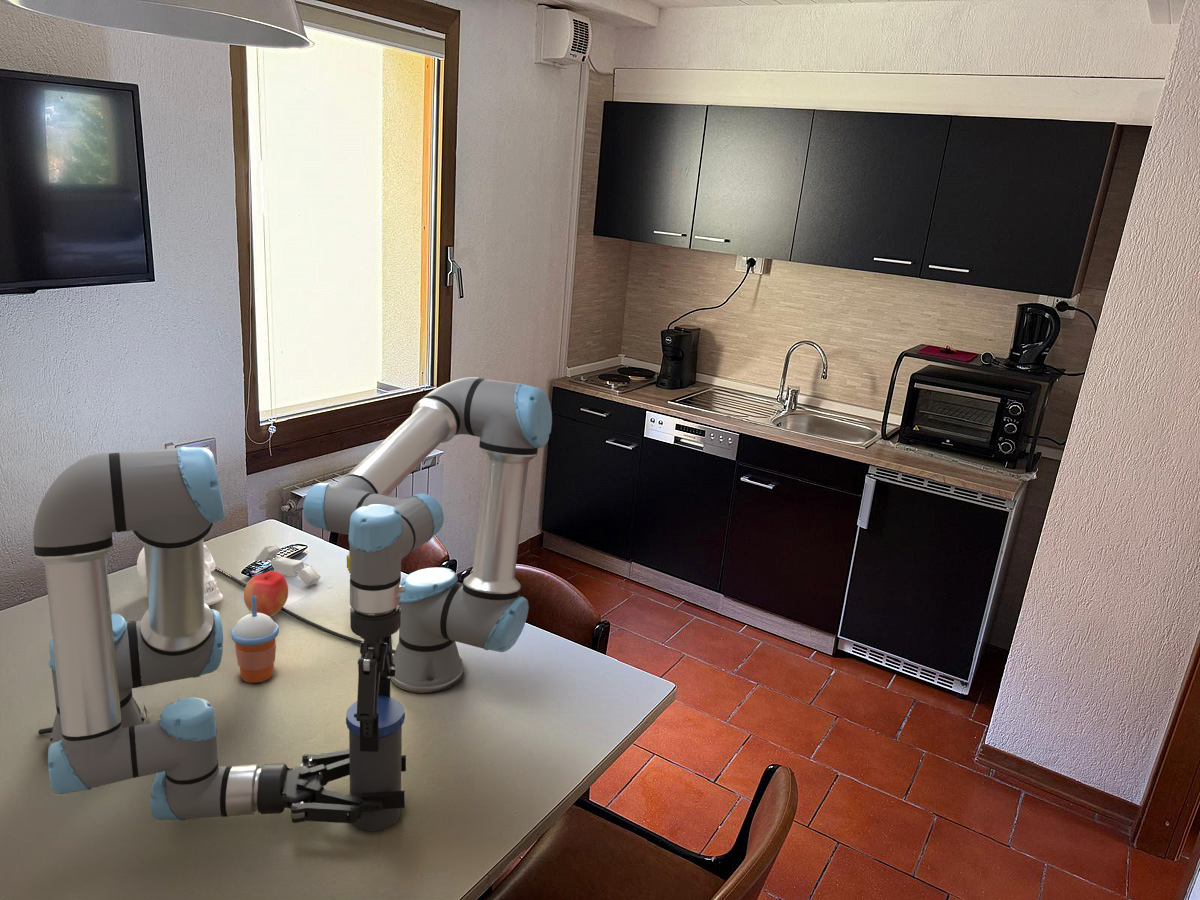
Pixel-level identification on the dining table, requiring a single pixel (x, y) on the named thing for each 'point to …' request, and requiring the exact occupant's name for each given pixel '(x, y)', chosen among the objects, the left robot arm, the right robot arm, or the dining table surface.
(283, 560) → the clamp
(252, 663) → the cup with straw
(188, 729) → the left robot arm
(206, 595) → the skull
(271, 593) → the apple
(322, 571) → the dining table surface
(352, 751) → the jar
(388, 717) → the lid
